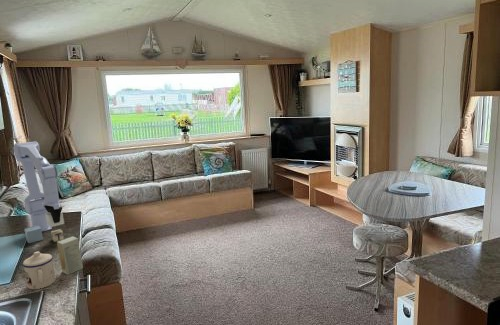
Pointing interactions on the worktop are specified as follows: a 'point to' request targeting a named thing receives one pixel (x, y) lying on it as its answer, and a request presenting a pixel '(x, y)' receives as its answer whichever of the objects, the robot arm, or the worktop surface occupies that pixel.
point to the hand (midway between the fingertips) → (55, 221)
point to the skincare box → (70, 255)
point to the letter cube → (57, 235)
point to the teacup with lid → (39, 270)
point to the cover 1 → (33, 234)
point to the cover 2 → (50, 220)
